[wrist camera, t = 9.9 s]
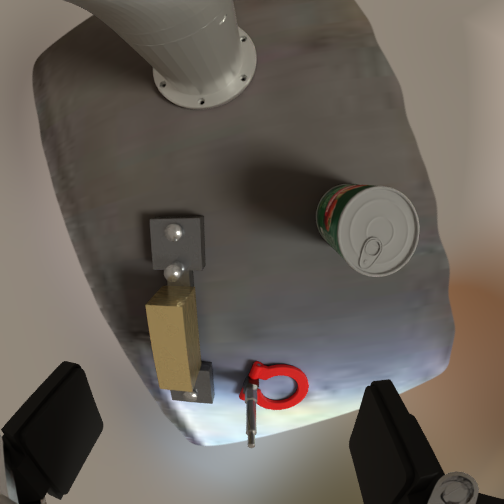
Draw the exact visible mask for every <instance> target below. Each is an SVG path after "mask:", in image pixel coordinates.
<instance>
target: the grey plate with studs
mask: <svg viewBox="0 0 504 504" xmlns="http://www.w3.org/2000/svg"><path fill="white" fill-rule="evenodd" d="M150 234H151V248H152V261H153V270H164V277H165V278H166V279H167V284H168V286H187V287H194V278H193V270H195V271H202V270H203V268H204V267H205V240H204V216H178V217H155V218H152V219H150ZM170 391H171V396H172V400H178V401H187V402H198V403H211V404H213V399H214V395H215V393H214V383H213V372H212V362H201V367H200V370H199V373H198V376H197V379H196V382H195V385H194V389H193V392H187V391H177V390H170Z"/></svg>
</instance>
